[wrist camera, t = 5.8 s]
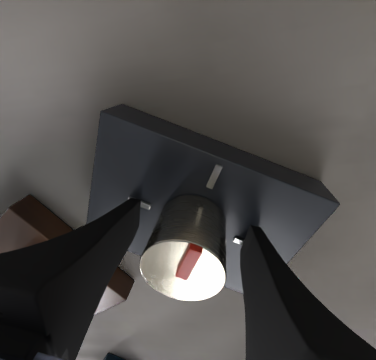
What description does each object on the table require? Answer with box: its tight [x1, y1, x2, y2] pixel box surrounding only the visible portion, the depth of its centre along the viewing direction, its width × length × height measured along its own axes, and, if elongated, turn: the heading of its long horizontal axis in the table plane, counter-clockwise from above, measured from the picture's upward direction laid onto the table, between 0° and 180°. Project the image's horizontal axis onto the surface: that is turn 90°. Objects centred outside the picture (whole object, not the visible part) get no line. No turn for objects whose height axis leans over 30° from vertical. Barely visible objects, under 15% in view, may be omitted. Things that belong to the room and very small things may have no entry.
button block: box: [0, 195, 134, 315], centre depth 19 cm, size 12×9×4 cm
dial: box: [140, 195, 227, 301], centre depth 11 cm, size 4×4×4 cm
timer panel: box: [86, 104, 340, 294], centre depth 14 cm, size 13×9×3 cm
